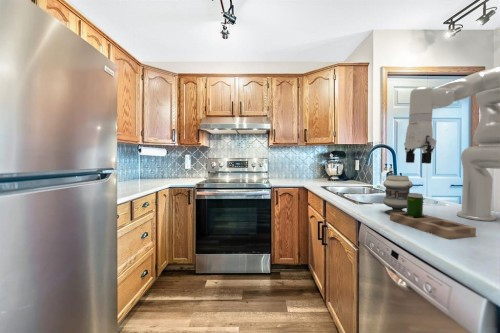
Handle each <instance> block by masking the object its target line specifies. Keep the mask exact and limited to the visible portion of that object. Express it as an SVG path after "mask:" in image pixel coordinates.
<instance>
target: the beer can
mask: <svg viewBox="0 0 500 333" xmlns="http://www.w3.org/2000/svg"><path fill="white" fill-rule="evenodd" d="M423 208H424V196H423V194H422V193H419V192H418V193H417V192H409V193H408V195H407V208H406V212H407V216H408V217H412V218H422V216H423V214H424V211H423V210H424V209H423Z"/></svg>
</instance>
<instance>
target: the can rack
mask: <svg viewBox="0 0 500 333" xmlns="http://www.w3.org/2000/svg"><path fill="white" fill-rule="evenodd" d="M389 220H390V221H392V222H395V223H398V224H401V225H405V226H407V227H410V228H412V229H413V228H414V229H417V230H420V231H423V232H425V233H428V232H429V234H431V233H432V235H434V234H435V235H434V236H438V237H441V238H442V239H443V238H444V239H446V240H454V239H455V240H456V239H463V238H465V239H466V238H474V237H476V236H477V227H476V226H471V225H468V224H467V225H466V224H464V223H458V222H455V221H451V220H448V219H444V218H440V217H439V218H438V217H436V216H432V215H428V214H424V213H423V216H422V218H412V217H408V216H407V211H406V212H399V213H390V214H389Z"/></svg>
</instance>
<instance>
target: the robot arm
mask: <svg viewBox="0 0 500 333" xmlns="http://www.w3.org/2000/svg"><path fill="white" fill-rule="evenodd" d="M472 96H475V101H476V104H477V105H478V109H479V110H480V114H481V116H480V119H479V121H478V124H477V127H476V129H475V132H474V135H473V142H474V144H476V145H475V146H469V147H467V148H465V149H464V150H463V151H462V152H461V156H460V159H461V165H462V195H461V196H462V197H461V211H457V212H456V215H457V216H459V217H461V218H464V219H469V220H473V221H474V220H476V221H484V222H487V221H488V222H489V221H490V222H493V221H496V219H497V218H496V216H494V215H492V198H493V196H492V195H493V182H494V180H493V176H492V174H491V173H490V172H489V170H488V169H497V170H500V105H499V104H500V65H499V66H495V67H491V68H488V69H484V70H481V71H477V72H474V73H471V74H469V75H466V76H464V77H461V78H458V79H456V80H453V81H450V82H447V83H445V84H442V85H439V86H437V87H433V88H432V87H431V86H421V87H416V88H413V89H412V90H411V91H410V96H409V112H408V125H407V128H406V133H405V141H404V143H403V144H404V151H405V163H407V164H413V163H415V156H416V154H415V151H416V149H418V150H419V149H421V150H422V153H421V164H431V163H432V154H433V153H434V149H435V147H436V143H437V140H436V139H435V138H433V123H432V122H433V110H437V109H442V108H446V107H449V106H450V105H452V104H453V103H454V102H457V101H461V100H464V99H467V98H469V97H472Z"/></svg>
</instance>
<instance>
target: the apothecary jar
mask: <svg viewBox="0 0 500 333" xmlns="http://www.w3.org/2000/svg"><path fill="white" fill-rule="evenodd" d="M382 184H383V186H384V187H385V197H384V198H383V199H382V202H383V204H384V205H385V206H386V207H389V208H391V209H387V210H385V211H384V213H386V215H390V213H399V212H407V210H406V209H407V195H408V193H410V189H412V188H413V185H414V184H413V182H412V181H410V179H409V176H408V175H396V174H395V175H394V174H393V175H390V174H389V175H387V177H386V179H385V180H384V181H383V183H382ZM405 210H406V211H405Z"/></svg>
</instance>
